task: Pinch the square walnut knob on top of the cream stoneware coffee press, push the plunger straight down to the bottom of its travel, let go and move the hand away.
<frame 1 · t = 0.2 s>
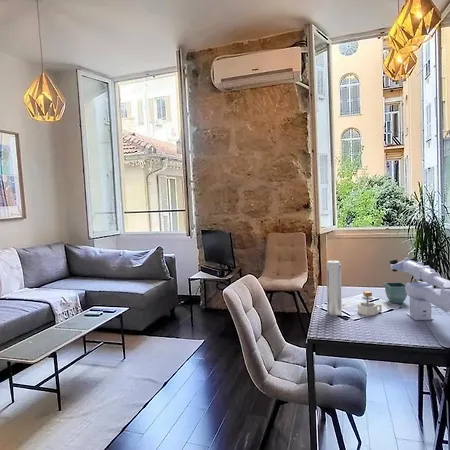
hand: (398, 261, 195), 21 cm above the table, tool horizontal, fingers open, 7 cm apart
press carafe: (367, 312, 186), on the table
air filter: (334, 314, 187), on the table
plunger: (367, 298, 185), point 7 cm above the table, slide at 0.0 cm
flower pot: (396, 302, 201), on the table
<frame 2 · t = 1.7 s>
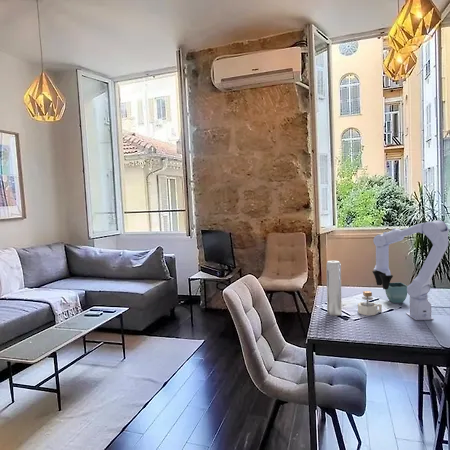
hand: (382, 287, 191), 10 cm above the table, tool pointing down, fingers open, 7 cm apart
nothing on the table moved.
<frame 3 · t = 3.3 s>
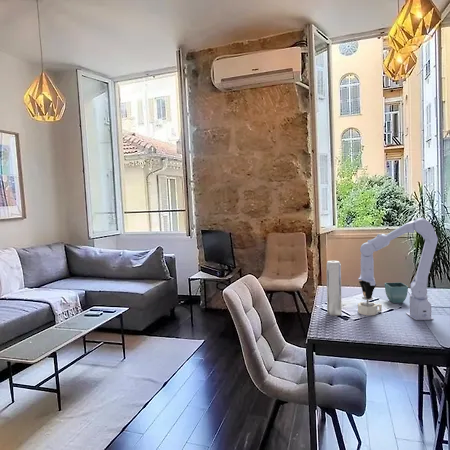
hand: (367, 297, 185), 7 cm above the table, tool pointing down, fingers closed on plunger, 3 cm apart
plunger: (367, 298, 185), point 7 cm above the table, slide at 0.0 cm, touching gripper
everything else where it was.
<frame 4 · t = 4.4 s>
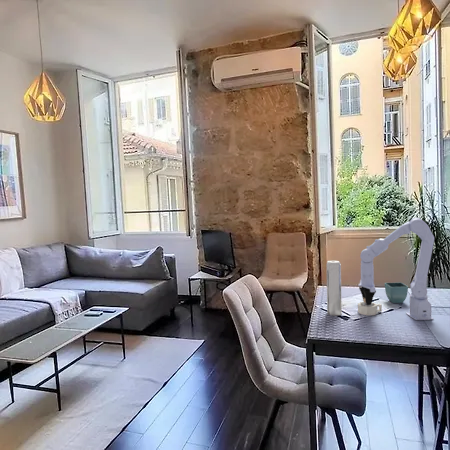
hand: (367, 303, 186), 4 cm above the table, tool pointing down, fingers closed on plunger, 3 cm apart
plunger: (367, 304, 186), point 4 cm above the table, slide at 2.9 cm, touching gripper
everything else where it was.
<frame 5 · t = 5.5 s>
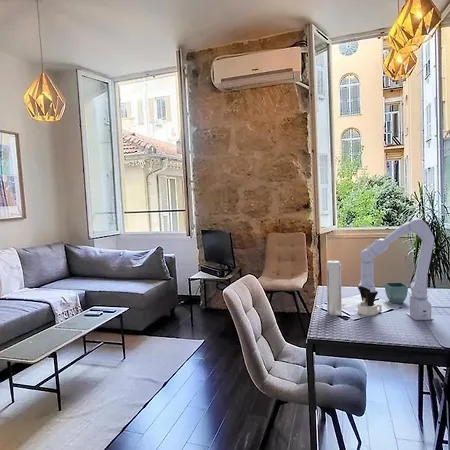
hand: (367, 303, 186), 4 cm above the table, tool pointing down, fingers open, 7 cm apart
plunger: (367, 304, 186), point 4 cm above the table, slide at 3.0 cm
everything else where it was.
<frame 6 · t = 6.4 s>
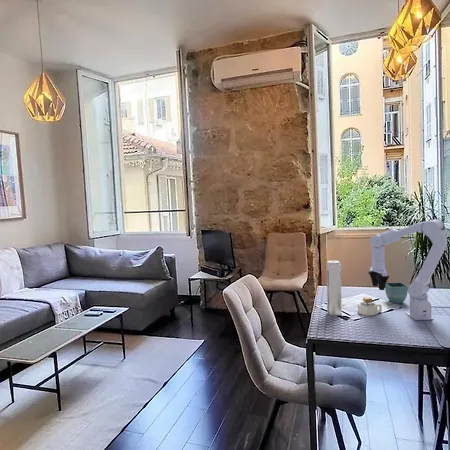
hand: (378, 287, 190), 10 cm above the table, tool pointing down, fingers open, 7 cm apart
nothing on the table moved.
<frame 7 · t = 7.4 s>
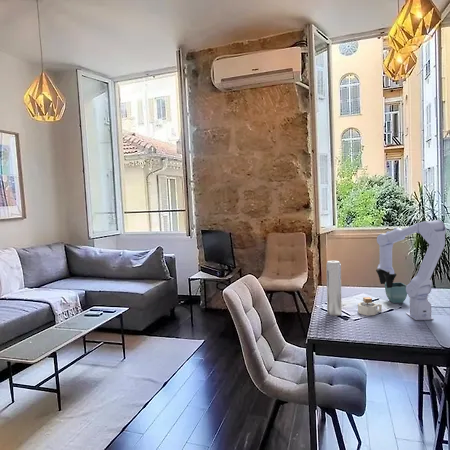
hand: (386, 285, 193), 10 cm above the table, tool pointing down, fingers open, 7 cm apart
nothing on the table moved.
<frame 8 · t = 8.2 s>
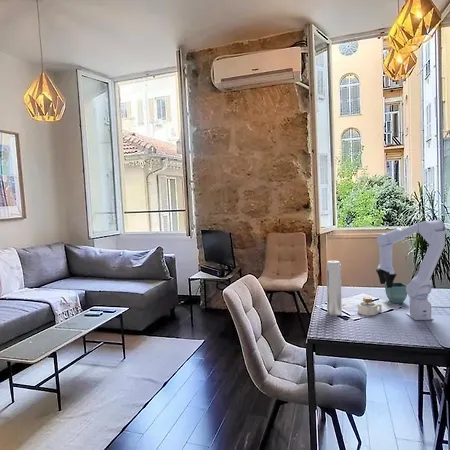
hand: (386, 285, 193), 10 cm above the table, tool pointing down, fingers open, 7 cm apart
nothing on the table moved.
at the end: plunger slide at 3.0 cm; the gripper is holding nothing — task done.
